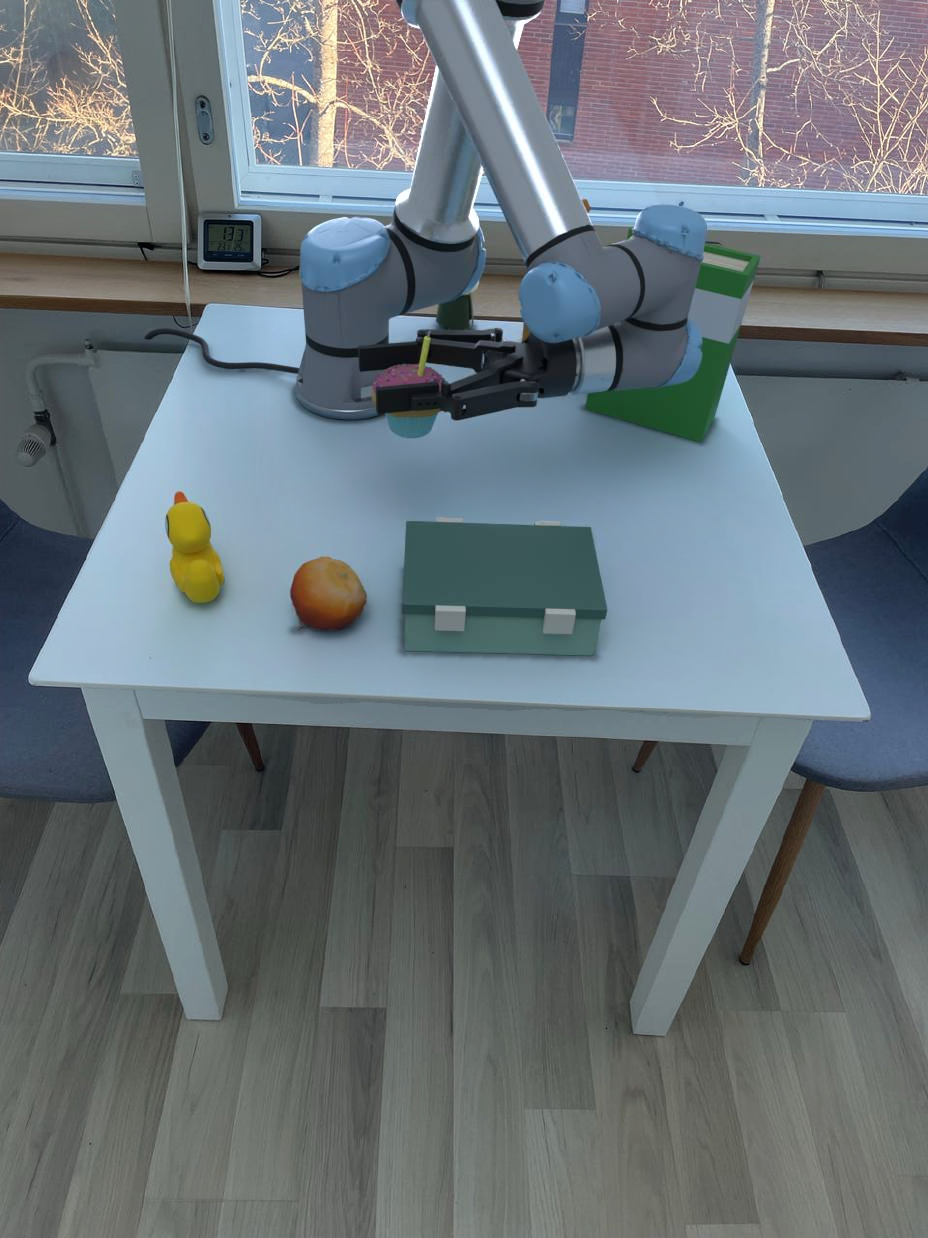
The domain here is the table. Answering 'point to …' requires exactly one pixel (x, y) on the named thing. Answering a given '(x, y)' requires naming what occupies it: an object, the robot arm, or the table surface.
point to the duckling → (193, 551)
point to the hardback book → (719, 323)
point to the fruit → (327, 594)
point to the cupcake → (410, 421)
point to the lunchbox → (501, 588)
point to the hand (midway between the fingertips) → (367, 379)
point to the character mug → (456, 312)
